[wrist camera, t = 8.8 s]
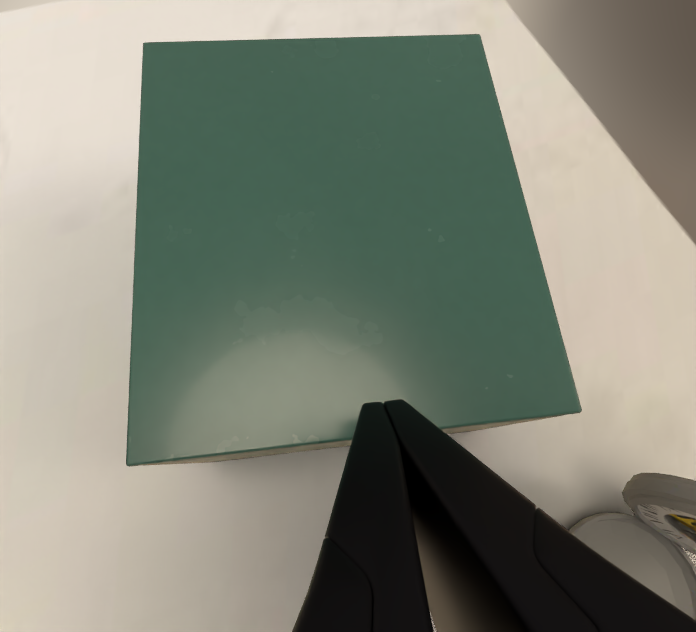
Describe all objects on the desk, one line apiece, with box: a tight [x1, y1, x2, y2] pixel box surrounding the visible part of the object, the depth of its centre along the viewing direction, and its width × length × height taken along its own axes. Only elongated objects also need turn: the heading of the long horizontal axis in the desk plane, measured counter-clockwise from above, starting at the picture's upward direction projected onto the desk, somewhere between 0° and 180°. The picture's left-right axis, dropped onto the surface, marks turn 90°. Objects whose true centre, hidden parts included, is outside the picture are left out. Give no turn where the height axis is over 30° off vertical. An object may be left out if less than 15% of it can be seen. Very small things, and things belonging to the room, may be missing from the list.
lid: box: [126, 34, 582, 467], centre depth 13 cm, size 14×13×1 cm
